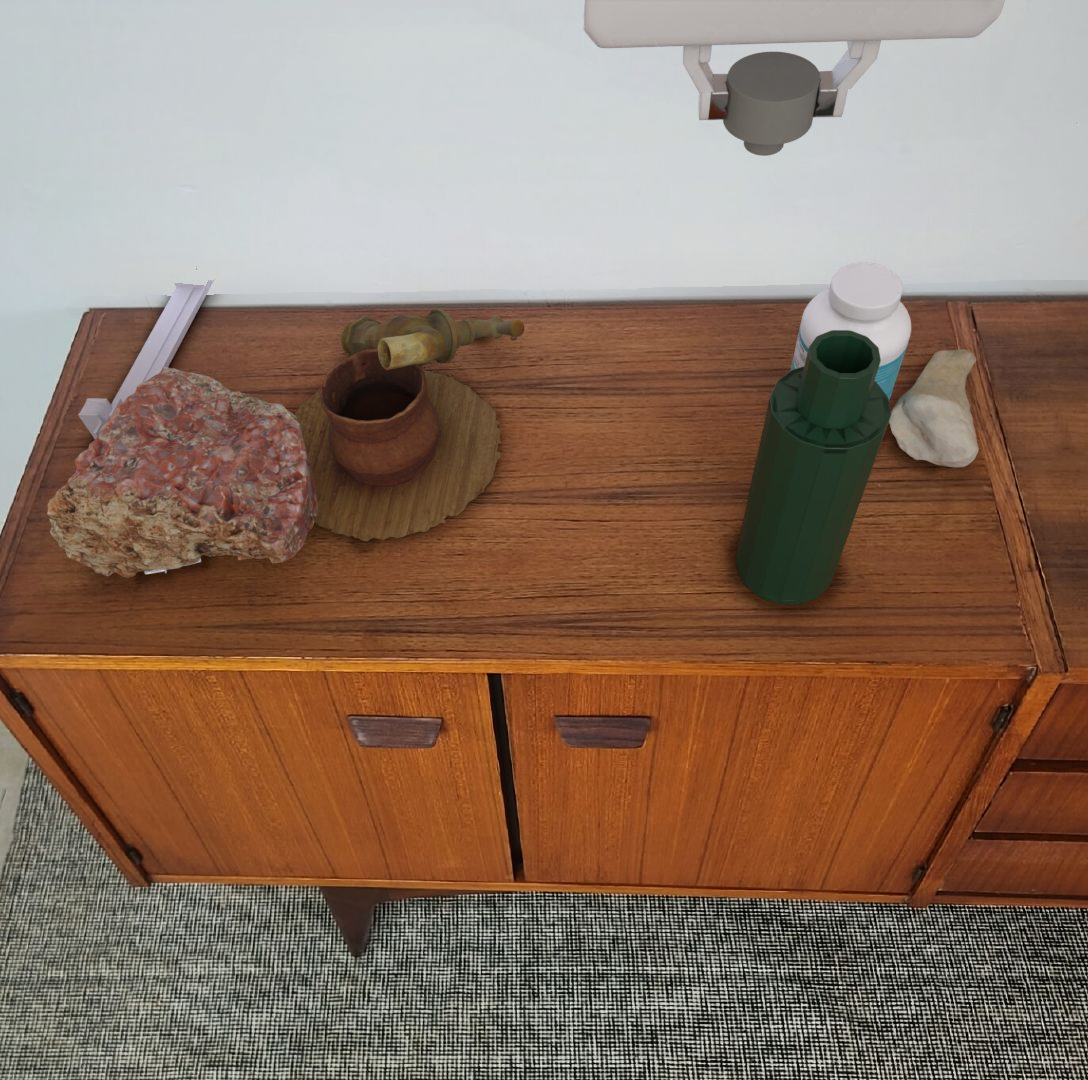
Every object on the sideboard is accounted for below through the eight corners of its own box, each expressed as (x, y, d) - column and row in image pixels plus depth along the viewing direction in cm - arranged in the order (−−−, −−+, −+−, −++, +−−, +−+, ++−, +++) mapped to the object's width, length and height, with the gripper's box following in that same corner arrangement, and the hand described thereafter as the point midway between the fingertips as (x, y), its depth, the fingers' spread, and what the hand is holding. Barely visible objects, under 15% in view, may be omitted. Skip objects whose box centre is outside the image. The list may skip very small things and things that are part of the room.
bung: (804, 118, 61) (816, 49, 58) (811, 170, 58) (824, 100, 55) (718, 120, 62) (725, 52, 58) (721, 171, 59) (729, 102, 56)
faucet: (294, 321, 86) (448, 300, 94) (302, 374, 88) (453, 348, 96) (388, 324, 75) (553, 300, 83) (395, 384, 76) (557, 355, 84)
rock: (152, 435, 87) (68, 581, 78) (117, 341, 78) (19, 493, 70) (355, 471, 84) (291, 626, 76) (340, 378, 76) (267, 540, 68)
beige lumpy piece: (969, 479, 79) (989, 434, 75) (881, 468, 80) (896, 423, 76) (968, 372, 85) (987, 325, 81) (886, 363, 86) (900, 317, 82)
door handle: (172, 250, 95) (202, 249, 94) (186, 277, 97) (215, 276, 97) (71, 425, 83) (105, 426, 83) (89, 451, 86) (122, 452, 85)
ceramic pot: (227, 471, 84) (202, 408, 78) (375, 339, 91) (361, 272, 85) (404, 579, 77) (391, 518, 71) (548, 427, 84) (546, 360, 78)
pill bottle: (884, 400, 84) (932, 258, 73) (870, 469, 80) (919, 331, 69) (788, 381, 86) (821, 240, 75) (770, 448, 82) (802, 310, 71)
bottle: (828, 527, 77) (899, 312, 61) (838, 606, 74) (916, 398, 57) (733, 525, 78) (777, 311, 62) (738, 603, 74) (786, 397, 58)
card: (146, 579, 78) (144, 577, 78) (139, 553, 80) (138, 550, 80) (265, 541, 80) (264, 538, 80) (256, 515, 81) (255, 513, 81)
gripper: (571, -138, 46) (575, 151, 58) (1069, -162, 44) (971, 143, 56) (577, -199, 50) (580, 85, 61) (1039, -224, 48) (952, 75, 59)
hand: (769, 113), depth 58 cm, fingers closed on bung, 5 cm apart
